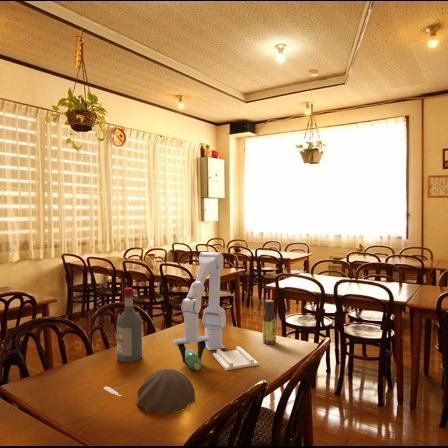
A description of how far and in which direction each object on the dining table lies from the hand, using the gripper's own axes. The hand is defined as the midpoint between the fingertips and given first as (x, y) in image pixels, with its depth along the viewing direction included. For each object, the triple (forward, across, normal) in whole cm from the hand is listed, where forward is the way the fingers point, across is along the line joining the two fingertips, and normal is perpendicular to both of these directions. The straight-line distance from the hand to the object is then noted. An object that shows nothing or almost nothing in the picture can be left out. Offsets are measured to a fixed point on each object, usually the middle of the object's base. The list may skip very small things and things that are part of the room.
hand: (191, 360), depth 157 cm
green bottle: (+2, 0, -2) cm, 2 cm away
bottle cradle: (+2, +18, -2) cm, 18 cm away
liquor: (+2, -23, +16) cm, 28 cm away
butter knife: (+2, -28, -20) cm, 34 cm away
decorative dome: (+2, -15, -24) cm, 28 cm away
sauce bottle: (+2, +41, +12) cm, 43 cm away
